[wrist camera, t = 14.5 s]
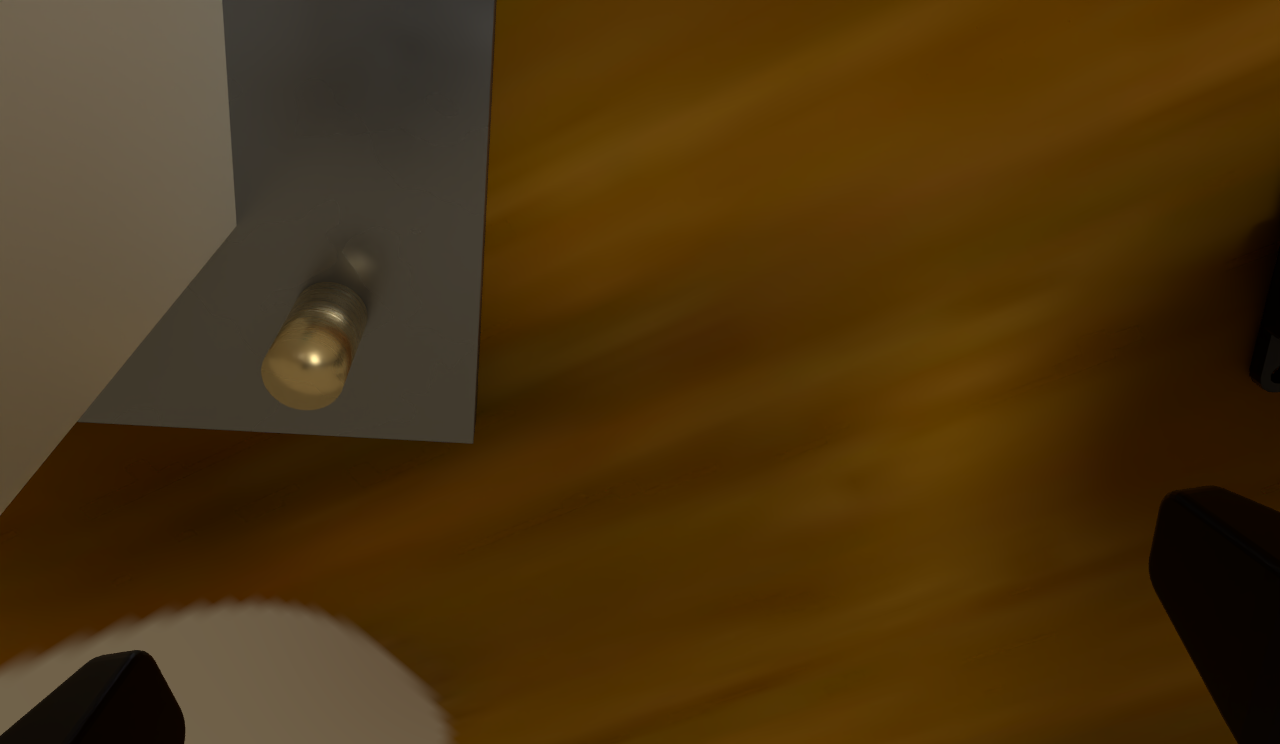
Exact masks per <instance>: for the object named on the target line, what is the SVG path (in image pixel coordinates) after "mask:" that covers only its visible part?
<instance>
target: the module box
mask: <svg viewBox="0 0 1280 744" xmlns="http://www.w3.org/2000/svg"><path fill="white" fill-rule="evenodd" d="M236 226H237V224H236V209H235V193H234V177H233V162H232V146H231V131H230V115H229V100H228V84H227V69H226V53H225V37H224V22H223V6H222V0H0V515H1V514H2V513H3V511H4V510H5V509H6V508H7V506H8V505H9V504H10V503H11V502H12V500H13V499H14V498H15V497H16V495H17V494H18V493H19V492H20V491H21V489H22V488H23V487H24V486H25V484H26V483H27V482H28V481H29V480H30V478H31V477H32V476H33V475H34V473H35V472H36V471H37V470H38V468H39V467H40V466H41V465H42V464H43V462H44V461H45V460H46V459H47V457H48V456H49V455H50V454H51V453H52V451H53V450H54V449H55V448H56V446H57V445H58V444H59V443H60V442H61V440H62V439H63V438H64V437H65V435H66V434H67V433H68V432H69V431H70V429H71V428H72V427H73V426H74V424H75V423H76V422H77V421H78V420H79V418H80V417H81V416H82V415H83V413H84V412H85V411H86V410H87V408H88V407H89V406H90V405H91V404H92V402H93V401H94V400H95V399H96V397H97V396H98V395H99V394H100V393H101V391H102V390H103V389H104V388H105V386H106V385H107V384H108V383H109V382H110V380H111V379H112V378H113V377H114V375H115V374H116V373H117V372H118V371H119V369H120V368H121V367H122V366H123V364H124V363H125V362H126V361H127V359H128V358H129V357H130V356H131V355H132V353H133V352H134V351H135V350H136V348H137V347H138V346H139V345H140V344H141V342H142V341H143V340H144V339H145V337H146V336H147V335H148V334H149V333H150V331H151V330H152V329H153V328H154V326H155V325H156V324H157V323H158V322H159V320H160V319H161V318H162V317H163V315H164V314H165V313H166V312H167V311H168V309H169V308H170V307H171V306H172V304H173V303H174V302H175V301H176V299H177V298H178V297H179V296H180V295H181V293H182V292H183V291H184V290H185V288H186V287H187V286H188V285H189V284H190V282H191V281H192V280H193V279H194V277H195V276H196V275H197V274H198V273H199V271H200V270H201V269H202V268H203V266H204V265H205V264H206V263H207V262H208V260H209V259H210V258H211V257H212V255H213V254H214V253H215V252H216V250H217V249H218V248H219V247H220V246H221V244H222V243H223V242H224V241H225V239H226V238H227V237H228V236H229V235H230V233H231V232H232V231H233V230H234V228H235V227H236Z"/></svg>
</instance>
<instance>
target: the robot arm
mask: <svg viewBox="0 0 1280 744" xmlns="http://www.w3.org/2000/svg"><path fill="white" fill-rule="evenodd" d="M1277 367H1279V368H1278V370H1276V371H1275V372H1274V373H1273V371H1274V370H1275V369H1276V368H1277ZM1249 376H1250V377H1251V379H1252V381H1253V382H1255V383H1256V384H1257V385H1259V386H1260V387H1261V388H1263V389H1264V390H1266V391H1268V392H1280V247H1279V251H1278V255H1277V260H1276V264H1275V268H1274V272H1273V276H1272V280H1271V284H1270V288H1269V292H1268V296H1267V300H1266V304H1265V308H1264V312H1263V316H1262V321H1261V325H1260V329H1259V333H1258V337H1257V341H1256V345H1255V349H1254V353H1253V357H1252V361H1251V365H1250V373H1249ZM1149 574H1150V579H1151V582H1152V585H1153V587H1154V589H1155V592H1156V594H1157V595H1158V597H1159V599H1160V601H1161V603H1162V605H1163V607H1164V608H1165V610H1166V612H1167V614H1168V616H1169V618H1170V620H1171V622H1172V623H1173V625H1174V627H1175V629H1176V631H1177V633H1178V635H1179V636H1180V638H1181V640H1182V642H1183V644H1184V646H1185V648H1186V650H1187V651H1188V653H1189V655H1190V657H1191V659H1192V661H1193V663H1194V664H1195V666H1196V668H1197V670H1198V672H1199V674H1200V676H1201V677H1202V679H1203V681H1204V683H1205V685H1206V687H1207V689H1208V691H1209V692H1210V694H1211V696H1212V698H1213V700H1214V702H1215V704H1216V705H1217V707H1218V709H1219V711H1220V713H1221V715H1222V717H1223V718H1224V720H1225V722H1226V724H1227V725H1228V727H1229V729H1230V731H1231V732H1232V734H1233V736H1234V738H1235V739H1236V741H1237V743H1238V744H1280V512H1278V511H1276V510H1274V509H1271V508H1269V507H1266V506H1264V505H1262V504H1259V503H1257V502H1255V501H1252V500H1250V499H1247V498H1245V497H1243V496H1240V495H1238V494H1236V493H1233V492H1231V491H1228V490H1226V489H1224V488H1221V487H1217V486H1202V487H1196V488H1189V489H1182V490H1176V491H1172V492H1170V493H1168V494H1167V495H1166V496H1165V497H1164V498H1163V500H1162V501H1161V504H1160V508H1159V513H1158V518H1157V522H1156V527H1155V532H1154V537H1153V542H1152V547H1151V552H1150V556H1149ZM184 741H185V721H184V717H183V714H182V711H181V708H180V707H179V705H178V703H177V701H176V699H175V697H174V696H173V693H172V692H171V690H170V688H169V686H168V684H167V682H166V680H165V679H164V677H163V675H162V674H161V671H160V669H159V668H158V666H157V664H156V662H155V660H154V659H153V657H152V656H151V655H149V654H148V653H146V652H145V651H140V650H134V651H127V652H120V653H114V654H107V655H102V656H99V657H96V658H94V659H92V660H90V661H89V662H88V663H86V664H85V665H84V666H83V667H81V668H80V669H79V670H78V671H76V672H75V673H74V674H73V675H72V676H71V677H69V678H68V679H67V680H66V681H65V682H63V683H62V684H61V685H60V686H59V687H58V688H57V689H55V690H54V691H53V692H52V693H51V694H50V695H48V696H47V697H46V698H45V699H43V700H42V701H41V702H40V703H39V704H37V705H36V706H35V707H34V708H33V709H31V710H30V711H29V712H28V713H27V714H26V715H25V716H23V717H22V718H21V719H20V720H18V721H17V722H16V723H15V724H14V725H13V726H12V727H10V728H9V729H8V730H7V731H5V732H4V733H3V734H2V735H1V736H0V744H184Z"/></svg>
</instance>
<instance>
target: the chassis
mask: <svg viewBox="0 0 1280 744" xmlns="http://www.w3.org/2000/svg"><path fill="white" fill-rule="evenodd" d="M496 1H497V0H222V6H223V22H224V37H225V53H226V69H227V84H228V100H229V115H230V131H231V146H232V162H233V177H234V193H235V209H236V224H237V226H236V227H235V228H234V230H233V231H232V232H231V233H230V235H229V236H228V237H227V238H226V239H225V241H224V242H223V243H222V244H221V246H220V247H219V248H218V249H217V250H216V252H215V253H214V254H213V255H212V257H211V258H210V259H209V260H208V262H207V263H206V264H205V265H204V266H203V268H202V269H201V270H200V271H199V273H198V274H197V275H196V276H195V277H194V279H193V280H192V281H191V282H190V284H189V285H188V286H187V287H186V288H185V290H184V291H183V292H182V293H181V295H180V296H179V297H178V298H177V299H176V301H175V302H174V303H173V304H172V306H171V307H170V308H169V309H168V311H167V312H166V313H165V314H164V315H163V317H162V318H161V319H160V320H159V322H158V323H157V324H156V325H155V326H154V328H153V329H152V330H151V331H150V333H149V334H148V335H147V336H146V337H145V339H144V340H143V341H142V342H141V344H140V345H139V346H138V347H137V348H136V350H135V351H134V352H133V353H132V355H131V356H130V357H129V358H128V359H127V361H126V362H125V363H124V364H123V366H122V367H121V368H120V369H119V371H118V372H117V373H116V374H115V375H114V377H113V378H112V379H111V380H110V382H109V383H108V384H107V385H106V386H105V388H104V389H103V390H102V391H101V393H100V394H99V395H98V396H97V397H96V399H95V400H94V401H93V402H92V404H91V405H90V406H89V407H88V408H87V410H86V411H85V412H84V413H83V415H82V416H81V417H80V418H79V420H78V421H77V422H89V423H107V424H125V425H143V426H162V427H180V428H198V429H216V430H235V431H253V432H271V433H290V434H308V435H326V436H344V437H363V438H381V439H399V440H417V441H436V442H454V443H472V444H473V440H474V432H475V423H476V409H477V389H478V368H479V348H480V328H481V307H482V287H483V266H484V246H485V226H486V205H487V185H488V165H489V144H490V124H491V103H492V83H493V63H494V42H495V22H496Z"/></svg>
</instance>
